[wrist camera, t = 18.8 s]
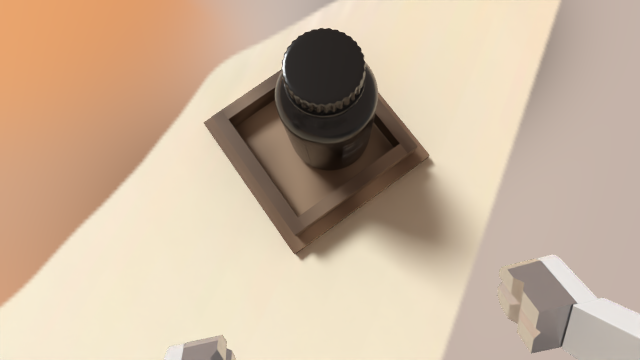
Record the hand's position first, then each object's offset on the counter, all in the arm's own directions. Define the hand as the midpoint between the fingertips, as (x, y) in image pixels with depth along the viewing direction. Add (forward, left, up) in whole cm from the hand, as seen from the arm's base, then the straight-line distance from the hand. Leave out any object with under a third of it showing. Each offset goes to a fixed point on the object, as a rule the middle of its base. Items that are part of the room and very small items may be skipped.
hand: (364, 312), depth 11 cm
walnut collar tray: (-4, +11, -21) cm, 24 cm away
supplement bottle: (-3, +12, -20) cm, 24 cm away
